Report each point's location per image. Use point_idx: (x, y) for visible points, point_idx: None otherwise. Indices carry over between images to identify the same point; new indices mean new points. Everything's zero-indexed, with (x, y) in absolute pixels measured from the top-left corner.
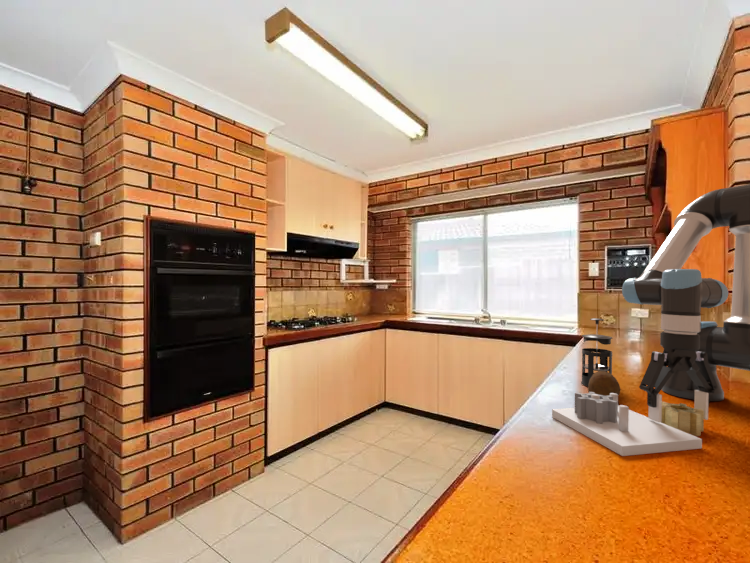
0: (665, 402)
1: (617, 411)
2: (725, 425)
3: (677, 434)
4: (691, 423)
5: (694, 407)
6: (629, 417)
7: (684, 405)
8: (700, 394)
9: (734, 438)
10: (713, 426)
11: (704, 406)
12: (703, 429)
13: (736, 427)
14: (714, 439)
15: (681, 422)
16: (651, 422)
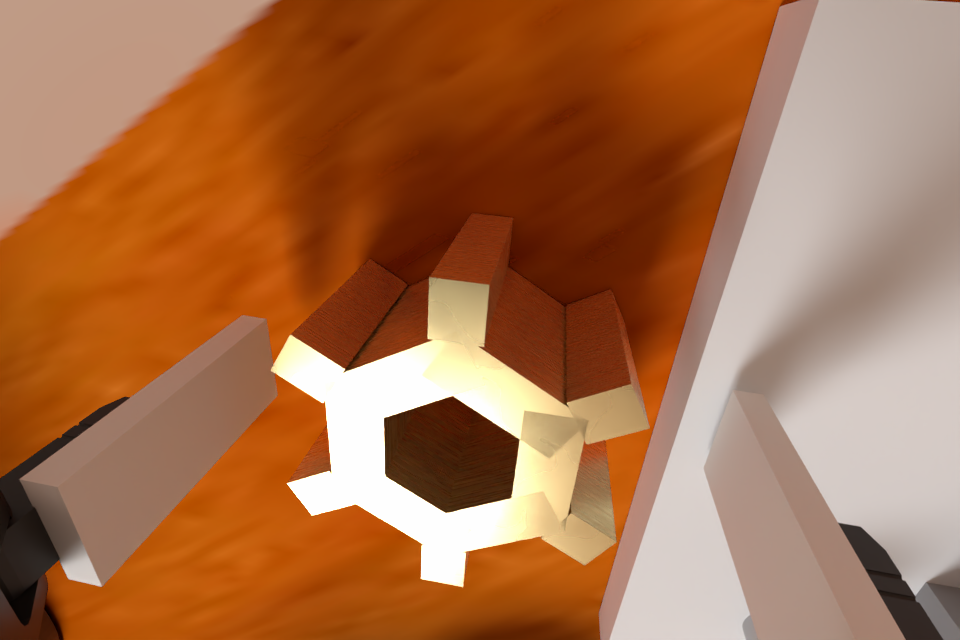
0: (431, 562)
1: None
2: (109, 284)
3: (914, 169)
4: (500, 288)
5: (237, 437)
6: None
7: (336, 472)
8: (112, 507)
9: (257, 97)
10: (206, 298)
11: (194, 389)
12: (365, 263)
13: (62, 239)
14: (438, 128)
15: (550, 335)
16: None
